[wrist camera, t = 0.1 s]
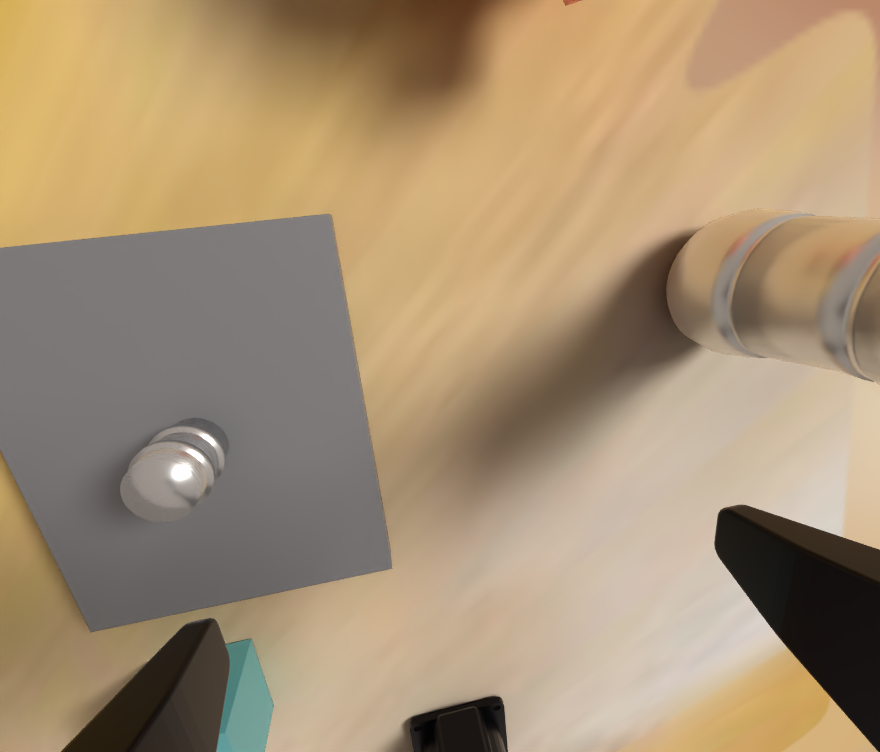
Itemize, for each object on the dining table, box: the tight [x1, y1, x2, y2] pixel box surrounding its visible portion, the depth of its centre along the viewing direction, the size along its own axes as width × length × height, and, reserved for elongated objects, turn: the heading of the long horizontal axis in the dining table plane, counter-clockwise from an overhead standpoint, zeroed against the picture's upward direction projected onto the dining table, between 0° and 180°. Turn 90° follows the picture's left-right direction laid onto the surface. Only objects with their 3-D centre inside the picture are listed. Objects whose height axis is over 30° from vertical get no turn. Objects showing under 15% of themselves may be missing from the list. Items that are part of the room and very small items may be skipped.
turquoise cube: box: [216, 639, 274, 752], centre depth 23 cm, size 6×6×5 cm
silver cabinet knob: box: [120, 418, 229, 522], centre depth 17 cm, size 3×3×4 cm
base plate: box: [0, 214, 392, 632], centre depth 20 cm, size 18×15×2 cm
